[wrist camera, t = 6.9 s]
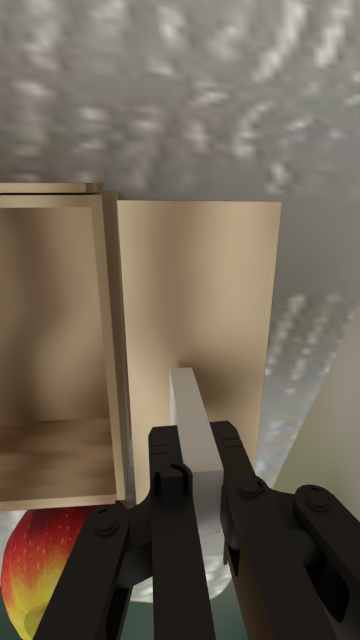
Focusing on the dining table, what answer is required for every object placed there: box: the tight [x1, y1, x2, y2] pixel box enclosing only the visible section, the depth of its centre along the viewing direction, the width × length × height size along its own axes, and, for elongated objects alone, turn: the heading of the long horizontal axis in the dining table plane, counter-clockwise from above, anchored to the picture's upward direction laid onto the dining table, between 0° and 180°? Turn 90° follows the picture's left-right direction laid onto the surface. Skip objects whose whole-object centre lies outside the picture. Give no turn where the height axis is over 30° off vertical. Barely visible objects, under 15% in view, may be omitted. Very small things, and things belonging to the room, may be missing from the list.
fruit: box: [1, 500, 127, 640], centre depth 28 cm, size 11×11×10 cm
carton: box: [0, 183, 131, 511], centre depth 22 cm, size 14×19×8 cm
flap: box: [117, 200, 282, 504], centre depth 17 cm, size 7×18×1 cm, turn 0°
